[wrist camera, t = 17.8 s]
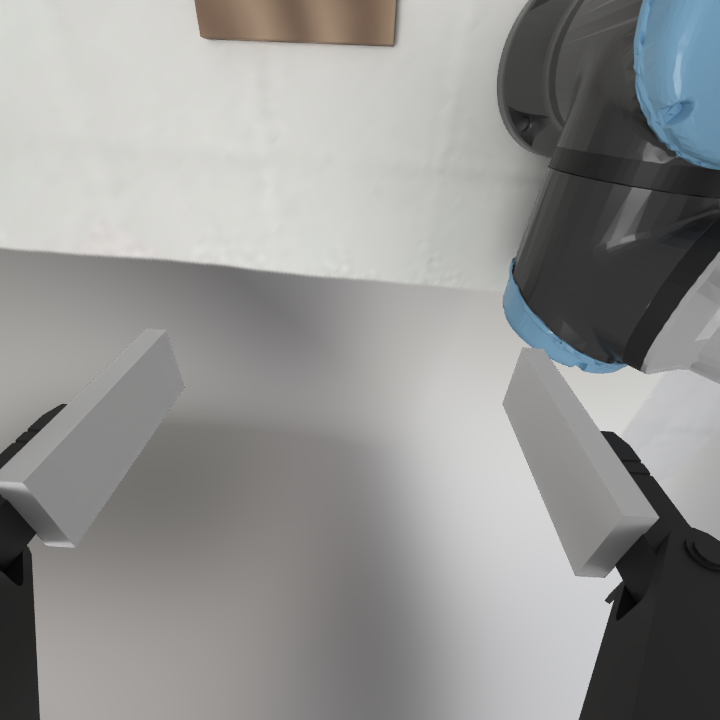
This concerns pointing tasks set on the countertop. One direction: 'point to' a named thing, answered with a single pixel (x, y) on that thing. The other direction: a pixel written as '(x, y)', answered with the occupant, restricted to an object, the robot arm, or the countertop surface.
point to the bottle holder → (299, 21)
